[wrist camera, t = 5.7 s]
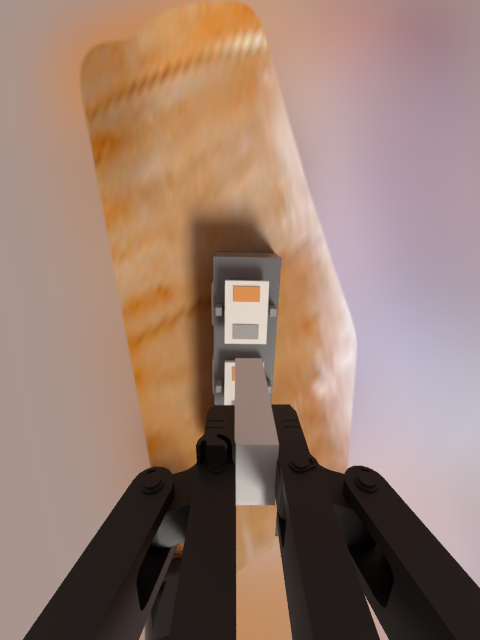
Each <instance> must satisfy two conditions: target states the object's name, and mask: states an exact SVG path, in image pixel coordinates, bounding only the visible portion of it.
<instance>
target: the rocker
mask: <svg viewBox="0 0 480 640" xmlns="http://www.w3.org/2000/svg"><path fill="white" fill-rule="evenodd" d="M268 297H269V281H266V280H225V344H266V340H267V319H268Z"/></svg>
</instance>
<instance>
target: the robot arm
mask: <svg viewBox="0 0 480 640" xmlns="http://www.w3.org/2000/svg"><path fill="white" fill-rule="evenodd" d="M196 453H197V463H196V464H195V465H194V466H193V467H191V468H190V469H188V470H185V471H183V472H179V473H176V474H172V473H171V472H170V471H169V470H168V469H166V468H164V467H152V468H149V469H146V470H144V471H143V472H141V473H139V474H138V475H137V477H136V478H135V479H134V480H133V481H132V483H131V484H130V486H129V487H128V488H127V490H126V492H125V493H124V494H123V496H122V497H121V499H120V500H119V502H118V503H117V504H116V506H115V507H114V509H113V510H112V512H111V513H110V515H109V516H108V518H107V519H106V520H105V522H104V523H103V525H102V526H101V527H100V529H99V531H98V532H97V533H96V535H95V536H94V538H93V539H92V541H91V542H90V543H89V545H88V546H87V548H86V549H85V551H84V552H83V554H82V555H81V556H80V558H79V559H78V561H77V562H76V564H75V565H74V566H73V568H72V569H71V571H70V572H69V574H68V575H67V577H66V578H65V579H64V581H63V582H62V584H61V585H60V587H59V588H58V590H57V591H56V593H55V594H54V596H53V597H52V599H51V600H50V601H49V603H48V604H47V606H46V607H45V608H44V610H43V611H42V613H41V614H40V616H39V617H38V618H37V620H36V621H35V623H34V624H33V626H32V627H31V629H30V630H29V632H28V633H27V634H26V636H25V637H24V639H23V640H139V638H140V635H141V633H142V631H143V628H144V626H145V640H236V505H275V497H276V504H277V519H276V533H275V536H279V543H280V550H281V557H282V565H283V572H284V580H285V587H286V595H287V601H288V609H289V617H290V623H291V631H292V639H293V640H380V638H379V636H378V633H377V630H376V627H375V624H374V621H373V618H372V616H371V612H370V610H369V607H368V604H367V601H366V598H367V600H368V602H369V604H370V605H371V607H372V609H373V611H374V612H375V615H376V616H377V618H378V620H379V622H380V624H381V626H382V628H383V629H384V631H385V633H386V635H387V637H388V639H389V640H480V588H479V587H478V586H477V584H476V583H475V582H474V581H473V580H472V579H471V578H470V577H469V576H468V574H467V573H466V572H465V571H464V570H463V568H462V567H461V566H460V565H459V564H458V563H457V562H456V560H455V559H454V558H453V557H452V556H451V555H450V553H449V552H448V551H447V550H446V549H445V548H444V547H443V546H442V544H441V543H440V542H439V541H438V540H437V539H436V537H435V536H434V535H433V534H432V533H431V532H430V531H429V530H428V528H427V527H426V526H425V525H424V524H423V523H422V521H421V520H420V519H419V518H418V517H417V516H416V515H415V513H414V512H413V511H412V510H411V509H410V508H409V506H408V505H407V504H406V503H405V502H404V501H403V500H402V498H401V497H400V496H399V495H398V494H397V493H396V492H395V490H394V489H393V488H392V487H391V486H390V485H389V484H388V482H387V481H386V480H385V479H384V478H383V477H382V476H381V475H380V474H379V473H377V472H376V471H374V470H372V469H370V468H368V467H364V466H352V467H350V468H348V469H347V470H346V472H345V474H342V473H339V472H335V471H331V470H328V469H326V468H324V467H322V466H320V465H319V464H318V462H317V460H316V459H315V458H314V457H313V456H312V455H310V452H309V449H308V446H307V443H306V440H305V437H304V434H303V431H302V428H301V425H300V422H299V419H298V416H297V413H296V411H295V410H294V409H293V408H292V407H291V406H290V405H271V402H270V397H269V392H268V387H267V381H266V376H265V371H264V366H263V361H262V358H235V405H213V406H212V407H211V409H210V410H209V411H208V414H207V420H206V427H205V433H204V435H203V436H202V437H201V438H200V439H199V440H198V442H197V445H196ZM182 542H184V548H183V555H182V559H177V560H173V561H171V560H172V557H173V555H174V552H175V550H176V547H177V544H180V543H182ZM364 594H365V595H364ZM365 596H366V598H365Z"/></svg>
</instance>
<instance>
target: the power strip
mask: <svg viewBox="0 0 480 640" xmlns="http://www.w3.org/2000/svg"><path fill="white" fill-rule="evenodd" d="M280 270H281V257H279V256H278V255H277V254H275V253H257V252H216V253H215V255H214V256H213V281H212V283H211V306H212V325H214V352H213V358H212V393H213V394H214V405H224V386H225V360H235V358H262V361H264V371H265V376H266V381H267V387H268V392H269V397H270V402H271V400H272V386H273V372H274V357H275V343H276V328H277V314H278V299H279V285H280ZM225 280H266V281H269V297H268V319H267V340H266V344H225Z"/></svg>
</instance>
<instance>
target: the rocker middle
mask: <svg viewBox="0 0 480 640" xmlns="http://www.w3.org/2000/svg"><path fill="white" fill-rule="evenodd" d="M263 366H264V361H263ZM224 405H235V360H225V386H224Z"/></svg>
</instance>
